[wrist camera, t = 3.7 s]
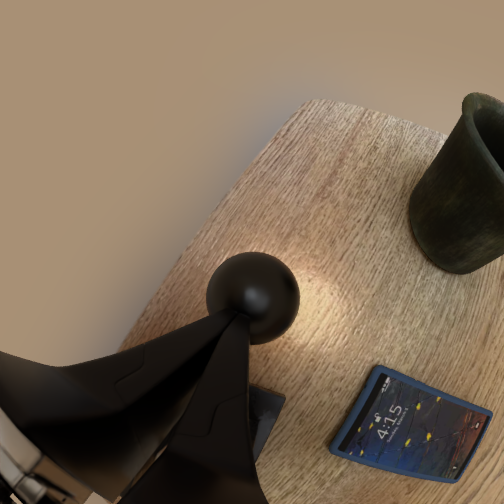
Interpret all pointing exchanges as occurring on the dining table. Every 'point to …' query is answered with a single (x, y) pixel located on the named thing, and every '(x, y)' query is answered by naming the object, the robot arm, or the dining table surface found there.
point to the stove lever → (255, 294)
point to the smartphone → (411, 429)
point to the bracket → (260, 422)
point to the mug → (464, 191)
